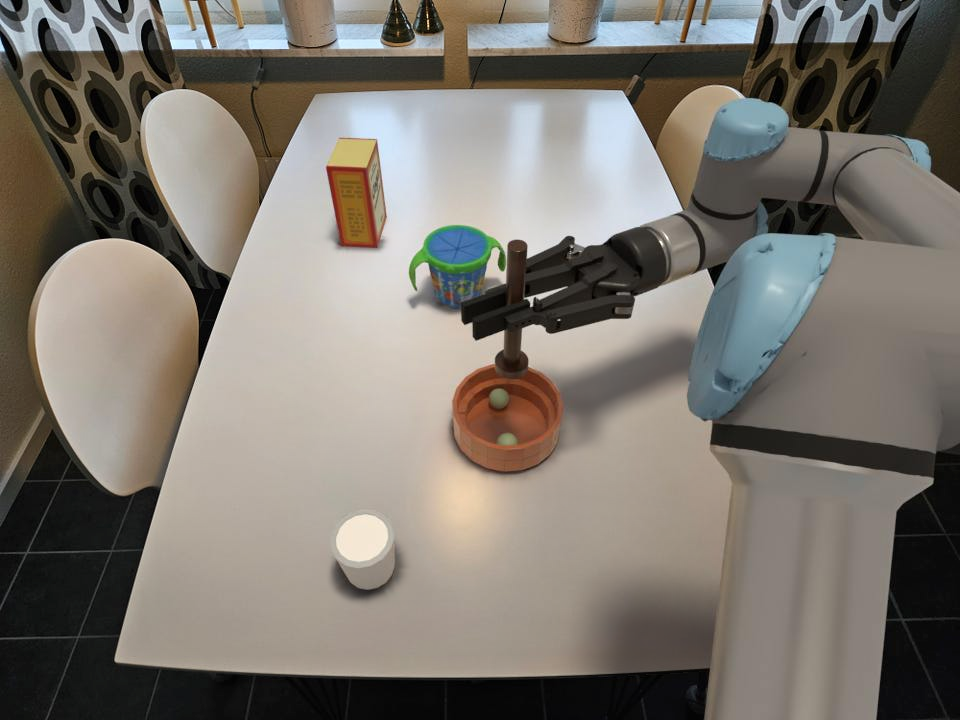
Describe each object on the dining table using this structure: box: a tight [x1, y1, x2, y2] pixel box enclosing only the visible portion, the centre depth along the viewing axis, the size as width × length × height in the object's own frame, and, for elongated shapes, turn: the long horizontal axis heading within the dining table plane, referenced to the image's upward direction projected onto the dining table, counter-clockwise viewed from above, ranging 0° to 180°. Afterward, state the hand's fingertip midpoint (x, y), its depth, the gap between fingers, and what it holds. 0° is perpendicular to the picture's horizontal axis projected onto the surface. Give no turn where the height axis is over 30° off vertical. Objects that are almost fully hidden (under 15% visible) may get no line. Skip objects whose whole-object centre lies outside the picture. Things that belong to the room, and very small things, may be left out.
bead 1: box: [489, 388, 509, 409], centre depth 88 cm, size 3×3×3 cm
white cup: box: [329, 508, 396, 591], centre depth 72 cm, size 7×7×7 cm
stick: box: [494, 239, 529, 379], centre depth 71 cm, size 4×4×18 cm
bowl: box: [451, 363, 564, 472], centre depth 85 cm, size 14×14×6 cm
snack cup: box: [408, 224, 507, 309], centre depth 102 cm, size 16×10×10 cm
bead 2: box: [496, 433, 518, 446], centre depth 83 cm, size 3×3×3 cm
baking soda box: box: [325, 137, 388, 249], centre depth 112 cm, size 10×6×16 cm
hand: (468, 321), depth 68 cm, fingers closed on stick, 2 cm apart
